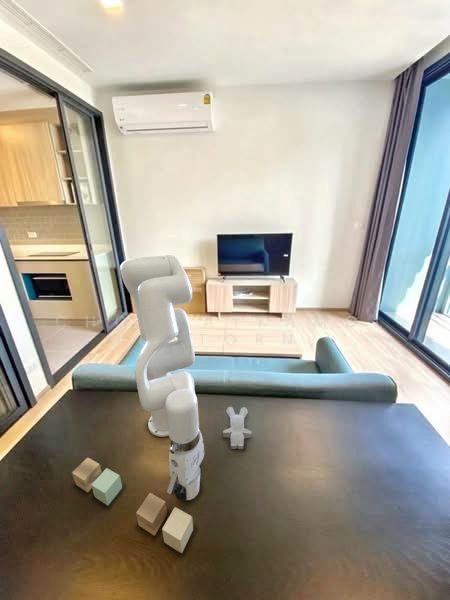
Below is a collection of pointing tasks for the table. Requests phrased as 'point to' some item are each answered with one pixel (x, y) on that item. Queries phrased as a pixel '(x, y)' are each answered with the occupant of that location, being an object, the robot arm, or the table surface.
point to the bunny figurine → (237, 428)
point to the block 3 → (151, 513)
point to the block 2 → (107, 486)
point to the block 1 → (86, 474)
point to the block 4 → (177, 529)
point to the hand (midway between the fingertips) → (188, 483)
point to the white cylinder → (193, 485)
